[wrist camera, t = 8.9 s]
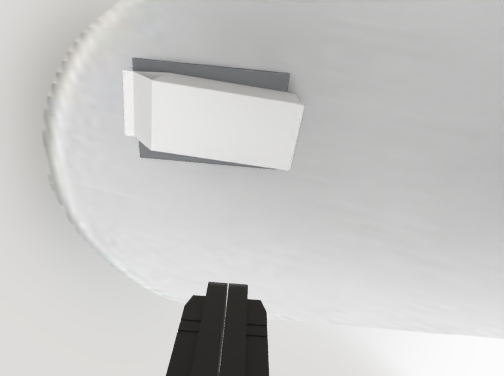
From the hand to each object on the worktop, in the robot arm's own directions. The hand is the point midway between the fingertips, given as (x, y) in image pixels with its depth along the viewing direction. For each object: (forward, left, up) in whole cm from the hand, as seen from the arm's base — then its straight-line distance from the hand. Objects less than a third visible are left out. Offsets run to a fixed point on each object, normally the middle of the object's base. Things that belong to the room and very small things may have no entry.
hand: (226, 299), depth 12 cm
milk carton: (-6, 0, -25) cm, 25 cm away
